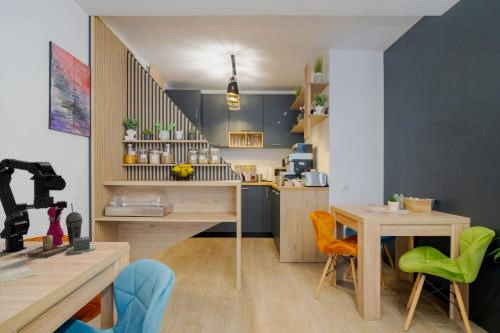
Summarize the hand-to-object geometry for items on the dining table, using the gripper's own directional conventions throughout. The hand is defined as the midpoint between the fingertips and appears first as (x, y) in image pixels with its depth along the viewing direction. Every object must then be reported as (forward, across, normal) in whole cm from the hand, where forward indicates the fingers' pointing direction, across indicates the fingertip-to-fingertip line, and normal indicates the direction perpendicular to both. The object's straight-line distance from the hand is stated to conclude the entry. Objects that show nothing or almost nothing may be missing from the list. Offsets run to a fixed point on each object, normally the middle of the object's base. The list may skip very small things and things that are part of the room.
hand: (42, 225), depth 130 cm
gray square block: (+11, +15, -7) cm, 20 cm away
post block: (+12, +2, -4) cm, 13 cm away
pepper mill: (+12, +5, +12) cm, 18 cm away
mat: (+12, +15, -7) cm, 20 cm away
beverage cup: (+12, +13, +7) cm, 19 cm away
